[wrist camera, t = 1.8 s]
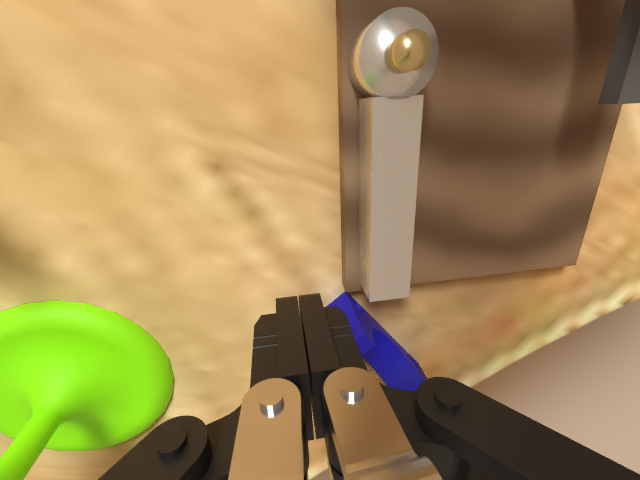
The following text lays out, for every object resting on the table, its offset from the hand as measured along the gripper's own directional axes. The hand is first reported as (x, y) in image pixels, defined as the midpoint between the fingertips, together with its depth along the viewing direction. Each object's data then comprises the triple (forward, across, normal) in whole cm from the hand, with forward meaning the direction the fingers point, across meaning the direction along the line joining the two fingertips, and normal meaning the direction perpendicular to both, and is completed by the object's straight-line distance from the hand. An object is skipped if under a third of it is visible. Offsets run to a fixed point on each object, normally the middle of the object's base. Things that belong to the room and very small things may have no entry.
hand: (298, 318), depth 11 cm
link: (+13, -7, -3) cm, 15 cm away
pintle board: (+14, -15, -4) cm, 21 cm away
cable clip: (+15, -7, +14) cm, 22 cm away
